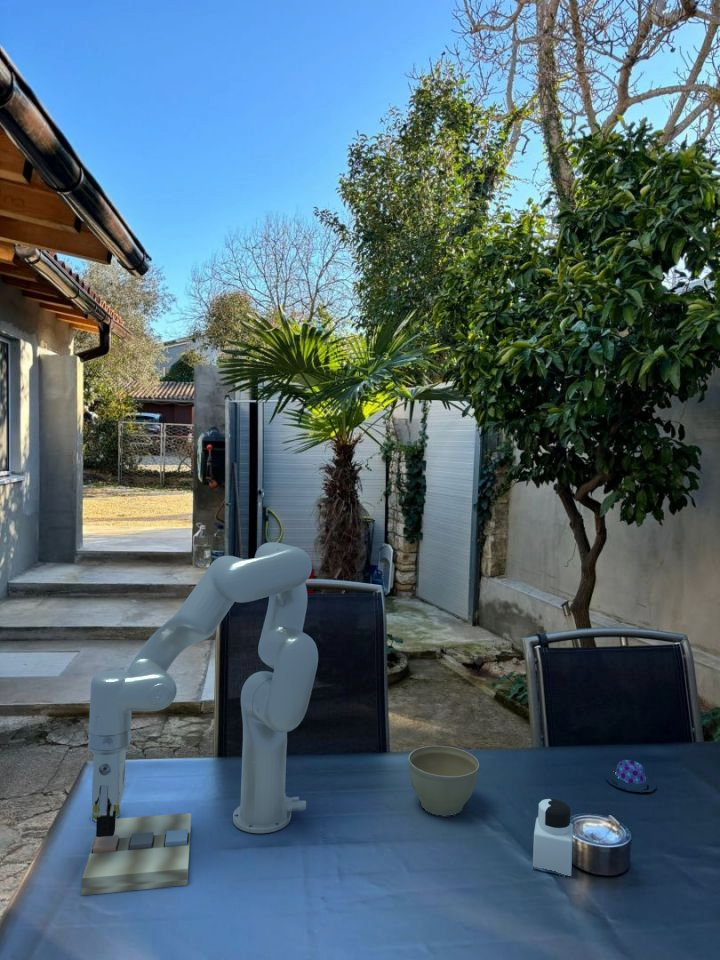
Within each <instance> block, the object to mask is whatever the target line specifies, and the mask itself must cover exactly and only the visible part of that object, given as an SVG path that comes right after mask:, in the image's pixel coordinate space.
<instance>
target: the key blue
mask: <svg viewBox="0 0 720 960" xmlns="http://www.w3.org/2000/svg"><path fill="white" fill-rule="evenodd" d="M187 835H188V829H186V830H174V831H167V833H166V841H165V847H173V846H185V845H187Z"/></svg>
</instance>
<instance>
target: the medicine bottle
mask: <svg viewBox="0 0 720 960" xmlns="http://www.w3.org/2000/svg"><path fill="white" fill-rule="evenodd" d="M537 814H538V815H537V817H535V825H534V831H533V844H532V845H533V846H532V847H533V849H532V850H533V851H532V853H533V854H532V867H533V866H534V867H538V868H544V869H547V870H552V871H556V872H558V873H561V874H564V875H568V876H571V877H572V866H573V865H572V864H573V839H574V838H573V837H574V836H573V833H574V825H573V823H571V808H570V807H569V805H568V804H567V803H565V801H562V800H559V799H556V798H555V799H554V798H547V799H546V798H545V799H542V800H541V801H540V802H539V803H538V813H537Z"/></svg>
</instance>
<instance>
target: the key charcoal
mask: <svg viewBox="0 0 720 960" xmlns="http://www.w3.org/2000/svg"><path fill="white" fill-rule="evenodd" d="M153 835H154V832H149V833H137V834H132V837H131V842H130V850H138V849H150V848H152V845H153Z"/></svg>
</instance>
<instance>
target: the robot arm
mask: <svg viewBox="0 0 720 960" xmlns="http://www.w3.org/2000/svg"><path fill="white" fill-rule="evenodd" d="M312 570H313V562H312V559H311V557H310V555H309V554H308V553H307V552H306V551H305V550H304V549H302V548H300V547H297V546H293V545H288V544H285V543H282V542H275V541H272V542H265V543H263V544H262V545H260V546H259V547H258V548H257V550H256V552H255V554H254V558H246V559H244V558H241V557H237V556H234V555H222V556H219V557H217V558H216V559H215V560H213V562H211V564H210V565H209V567H208V568H207V569H206V571H205V572H204V573H203V575H202V576H201V578H200V579H199V581H198V582H197V583H196V585H195V586H194V588H193V589H192V591H191V592H190V594H189V595H188V596H187V598H186V600H185V601H184V602H183V603H182V605H181V607H180V608H179V609H178V610H177V612H176V613H175V614H174V615H173V616H172V617H171V618H169V619H168V620H167V621H165V623H164V624H163V625H161V626H160V627H159V628H158V629H157V630H156V631H154V633H153V634H152V635H151V636H150V637H149V639H147V641H146V642H145V643H144V645H143V646H142V648H141V649H140V650H139V652H138V653H137V655H136V656H135V657H134V659H133V660H132V662H131V663H130V665H129V667H128V669H127V671H125V670H114V669H113V670H105V671H101V672H99V673H97V674H95V675H94V676H93V677H92V679H91V682H90V695H89V696H90V697H89V700H90V701H89V719H88V720H89V723H88V745H87V749H88V751H89V752H91V753H93V763H92V764H93V765H92V766H93V767H92V783H91V785H92V786H91V787H92V789H91V794H92V795H91V805H92V807H93V806H94V807H96V805H97V803H98V815H97V822H96V829H95V836H97V837H106V836H113V835H114V832H115V820H116V819H117V818H116V811H114V810H115V805H116V806H117V805H119V806H120V804H121V802H122V800H123V799H122V798H123V795H124V791H125V787H126V758H127V757H126V749H127V748H129V747H130V746H131V737H132V736H131V733H132V731H131V728H132V727H131V726H132V712H157V711H161V710H164V709H166V708H168V707H169V706H170V705H171V704H172V703H173V702H174V700H175V698H176V696H177V691H178V690H177V684H176V682H175V680H174V679H173V677H172V676H171V675H170V674H169V673H168V672H167V671H168V670H169V668H171V665H172V664H173V663H174V661H175V660H176V658H178V656H180V654H181V653H182V652H184V650H186V649H187V648H189V647H190V646H192V645H194V644H197V643H199V642H202V641H205V640H207V639H208V638H210V637H212V635H214V633H215V632H216V630H217V628H218V627H219V626H220V624H221V622H222V621H223V620H224V618H225V616H226V615H227V613H228V612H229V610H230V609H231V607H232V606H234V603H235V602H236V603H250V602H254V601H258V600H261V599H264V598H268V597H269V598H268V605H267V609H266V614H265V617H264V618H265V619H264V622H263V626H262V630H261V634H260V638H259V642H258V648H257V651H258V652H257V653H258V656H259V658H260V660H261V661H262V662H263V663H264V664H265V665H266V666H268V667H270V668H271V669H273V672H271V671H266V670H263V671H262V670H261V671H258V672H254V673H253V674H251V675H250V676H249V677H248V678H247V679H246V680H245V682H244V684H243V686H242V689H241V692H240V693H241V694H240V707H241V709H240V710H241V719H242V753H241V780H240V781H241V783H240V784H241V785H240V804H239V806H237V808H236V809H235V810H234V811H233V814H232V823H233V824H234V826H235V827H236V828H238V829H239V830H241V831H243V832H246V833H251V834H268V833H269V834H271V833H273V832H278V831H279V830H281V829H283V828H285V827H286V826H288V824H289V823H290V822H291V820H292V812H293V811H298V812H300V811H301V812H302V811H306V809H307V802H306V800H300V797H299V796H292V797H289V795H288V796H287V794H286V773H287V772H286V770H287V769H286V768H287V767H286V766H287V745H288V732H291V731H293V730H294V729H296V728H297V727H298V726H299V725H300V724H301V722H302V721H303V720H304V718H305V715H306V713H307V711H308V708H309V702H310V699H311V695H312V691H313V687H314V683H315V678H316V673H317V669H318V663H319V651H318V648H317V644H316V642H315V641H314V640H313V638H312V637H311V636H309V634H307V633H305V632H303V629H304V626H305V625H304V624H305V619H306V613H307V608H308V589H307V586H306V582H307V580H309V578H310V576H311V573H312Z"/></svg>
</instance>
